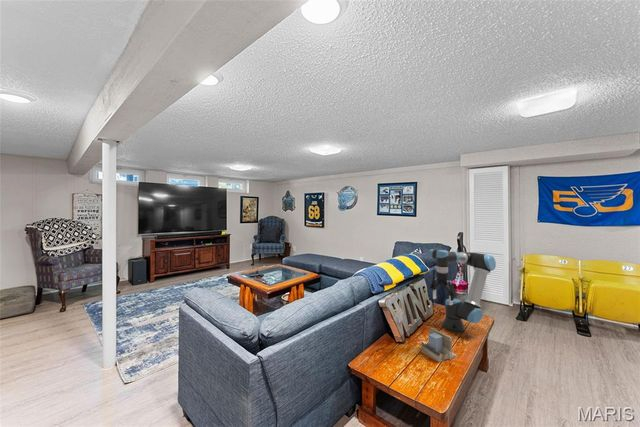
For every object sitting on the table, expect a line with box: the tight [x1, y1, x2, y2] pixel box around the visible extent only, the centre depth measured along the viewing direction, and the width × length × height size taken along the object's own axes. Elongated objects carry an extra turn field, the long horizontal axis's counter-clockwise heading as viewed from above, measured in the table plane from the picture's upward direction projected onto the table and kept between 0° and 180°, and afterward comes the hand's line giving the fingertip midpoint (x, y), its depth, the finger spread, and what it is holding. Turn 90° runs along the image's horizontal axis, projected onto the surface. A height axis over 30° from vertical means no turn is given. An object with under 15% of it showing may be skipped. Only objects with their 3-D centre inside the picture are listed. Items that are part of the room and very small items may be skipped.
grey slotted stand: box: [421, 327, 458, 363], centre depth 171 cm, size 16×16×14 cm
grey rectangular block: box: [428, 333, 443, 351], centre depth 170 cm, size 6×6×9 cm
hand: (442, 301), depth 183 cm, fingers open, 13 cm apart
